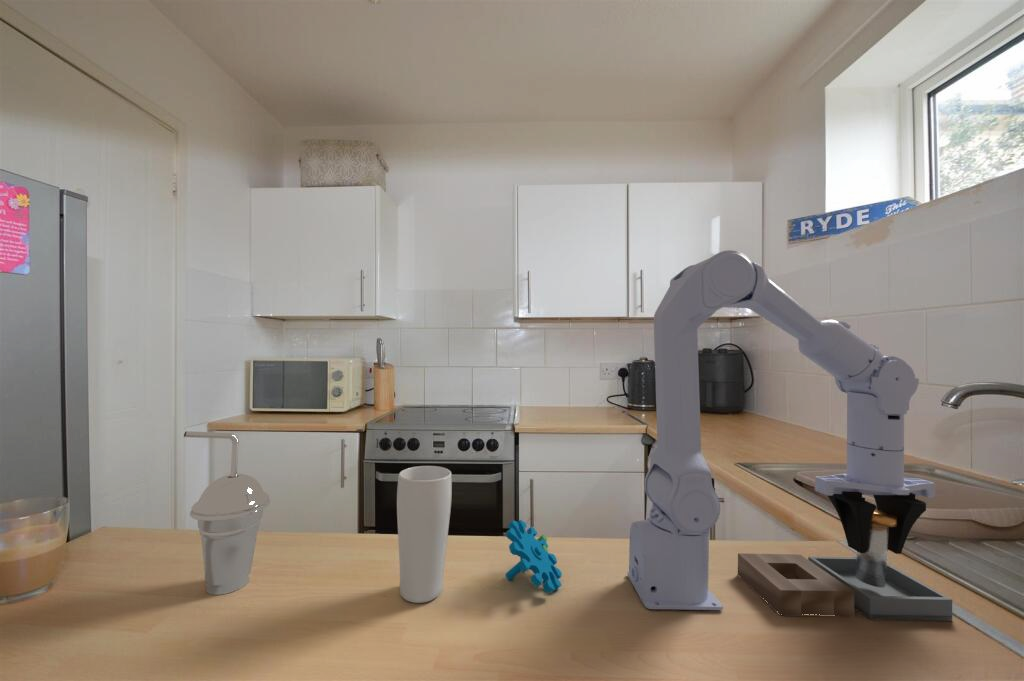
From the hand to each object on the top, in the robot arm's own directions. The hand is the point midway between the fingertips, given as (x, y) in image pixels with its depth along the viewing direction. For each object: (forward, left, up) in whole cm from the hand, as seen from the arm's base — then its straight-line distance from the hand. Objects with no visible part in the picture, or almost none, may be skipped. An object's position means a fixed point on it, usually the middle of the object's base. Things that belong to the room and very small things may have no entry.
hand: (873, 549), depth 54 cm
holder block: (-11, 0, -6) cm, 12 cm away
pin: (0, 0, -4) cm, 4 cm away
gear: (-44, +2, -6) cm, 45 cm away
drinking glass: (-59, -1, -6) cm, 59 cm away
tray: (0, 0, -6) cm, 6 cm away
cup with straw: (-84, 0, -6) cm, 84 cm away
